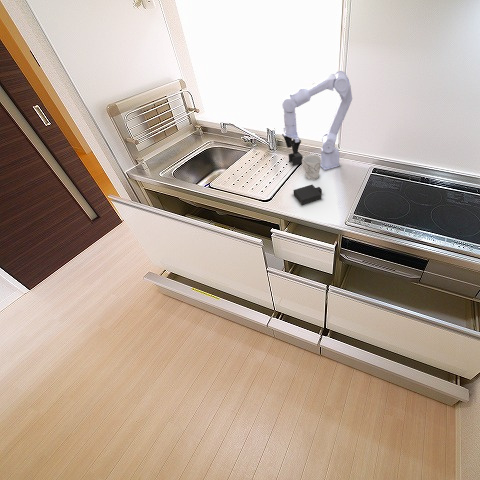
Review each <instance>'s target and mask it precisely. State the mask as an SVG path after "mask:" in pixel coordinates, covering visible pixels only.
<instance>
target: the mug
mask: <svg viewBox="0 0 480 480" xmlns="http://www.w3.org/2000/svg"><path fill="white" fill-rule="evenodd" d="M301 165H302V169H303V170H304V172H305V176H306V178H307V179H308V180H313V181H314V180H317V179H318V178H319V177H320V172H321V166H320V165H321V156H320V155H317V154H307V155H305V156H304V157H303V159H302V163H301Z"/></svg>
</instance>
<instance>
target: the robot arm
mask: <svg viewBox="0 0 480 480" xmlns="http://www.w3.org/2000/svg"><path fill="white" fill-rule="evenodd" d="M326 90H329V91H332V92H333V91H336V93H337V94H339V97H340V101H339V102H338V105H337V106H336V107H337V108H336V110H335V112H334V115H333V118H332V120H331V123H330V125H329V127H328V129H327V131H326V133H325V134H324V135H323V136H322V138H321V141H322V147H321V148H320V158H321V165H320V168H322V169H323V170H324V171H327V170H330V169H334V168H337V167H340V151H339V148H337V147H336V145H335V144H336V142H337V136H338V134H339V132H340V129H341V127H342V125H343V123H344V120H345V117H346V116H347V113H348V111H349V108H350V106H351V104H352V101H353V93H352V86H351V82H350V79H349V77H348V75H347V73H346V72H344V71H343V70H338V71H336V72H335V73H331V74H329V76H326V77H325V78H323V79H322V80H320V81H318V82H317V83H315V84H314V85H312V86H310V87H308V88H306V87H299V88H298V90H297V91H296V92H293V93H289V95H286V96H285V97H284V98H283V101H282V109H283V121H284V127H283V133H282V134H281V136H282V137H283V139H284V142H285V144H286V148H287V149H289V148H291V149H292V153H293V154H296V153H298V152H299V148H300V145H301V143H302V140H301V139H300V137H299V134H298V131H297V130H298V128H297V127H298V126H297V114H296V108H300V107H301V106H303V105H304V104H306V103H308V102H310V101H311V99H312V97H313V96H316V95H317V94H319V93H321V92H324V91H326Z"/></svg>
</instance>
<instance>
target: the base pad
mask: <svg viewBox="0 0 480 480" xmlns="http://www.w3.org/2000/svg"><path fill="white" fill-rule="evenodd" d="M322 191H323V189H322V187H320V186H316V187H315V186H314V185H313V184H309V185H305V186H302V187H299V188H296V189H293V196H294V198H295V199H296V200H297V201H298V203H299V204H300V205H301V206H306V205H308V204H312V203H314V202H317V201H321V200H322Z"/></svg>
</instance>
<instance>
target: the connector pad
mask: <svg viewBox="0 0 480 480" xmlns="http://www.w3.org/2000/svg"><path fill="white" fill-rule="evenodd" d="M303 158H304V157H303V155H302V153H300V152H299V151H298V153H296V154H293V152H292V153H288V162H289V163H292V166H293V167H294V166H298V165H302V159H303Z"/></svg>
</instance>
